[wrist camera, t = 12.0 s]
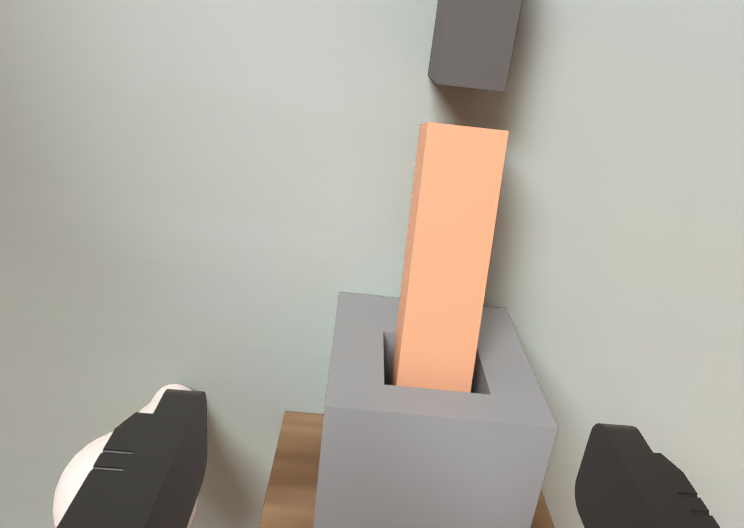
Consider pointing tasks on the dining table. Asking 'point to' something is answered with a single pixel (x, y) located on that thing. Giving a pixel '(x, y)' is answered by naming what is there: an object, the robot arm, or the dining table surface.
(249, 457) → the dining table surface
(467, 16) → the block
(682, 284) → the dining table surface
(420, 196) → the dowel
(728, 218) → the dining table surface
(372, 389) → the block
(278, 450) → the wooden board
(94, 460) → the lightbulb
